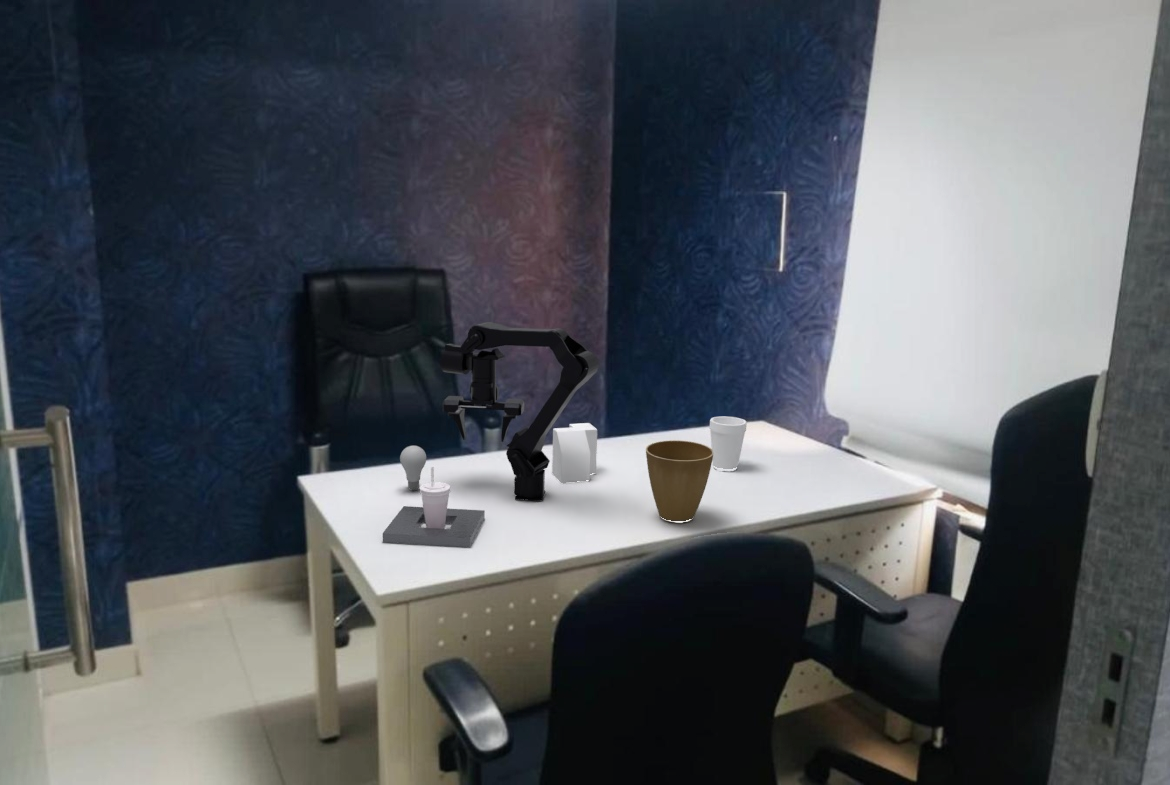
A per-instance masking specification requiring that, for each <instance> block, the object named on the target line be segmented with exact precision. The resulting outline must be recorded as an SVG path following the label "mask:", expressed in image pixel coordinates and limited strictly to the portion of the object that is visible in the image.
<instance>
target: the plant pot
mask: <svg viewBox="0 0 1170 785" xmlns="http://www.w3.org/2000/svg"><path fill="white" fill-rule="evenodd" d="M713 454H714V452H713V450H712V447H710V446H708V445H705V444H702V443H700V442H695V441H688V440H679V439H678V440H676V439H674V440H671V439H670V440H661V441H655V442H652V443H650V444H648V445H647V446H646V447H645V455H646V456H645V457H646V465H647V470H648V478H649V483H650V487H651V492H652V496H653V499H654V502H655V506H656V509H657V513H658V515H659V517H660V516H661V517H662V518H664V519H666V520H671V521H686V520H689V519H692V518H693V517H695V515H696V513H697V511H698V510H699V506H700V504H701V501H702V498H703V496H704V493H705V490H706V486H707V484H708V481H709V478H710V477H709V476H710V473H711V469H712V465H713V461H712V459H713ZM693 519H694V518H693Z"/></svg>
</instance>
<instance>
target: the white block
mask: <svg viewBox="0 0 1170 785" xmlns="http://www.w3.org/2000/svg"><path fill="white" fill-rule="evenodd" d="M568 426H569V427H557V428H552V463H551V464H552V465H551V467H552V469H551V470H552V471H551V472H552V473H553V474H552V473H551V474H552V476H554V477H555V478H556V480H557V479H558V480H559V481H560V482H561V483H563V484H567V483H566V482H575V483H578V482H577V481H586V480H589V481H590V476H591V475H590V474H592V473H596V474H597V454H598V448H597V447H598V429H597V428H596V427H595V426H594V425H592V424H591V423H590V422H584V423H583V422H582V423H580V422H579V423H569V425H568ZM558 480H557V481H558ZM559 481H558V482H559ZM560 482H559V483H560ZM561 483H560V484H561Z"/></svg>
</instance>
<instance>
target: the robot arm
mask: <svg viewBox="0 0 1170 785" xmlns="http://www.w3.org/2000/svg"><path fill="white" fill-rule="evenodd" d="M504 346H515V347H516V346H517V347H542V348H543V347H545V348H546V347H547V348H549V349H550V350H551V351H552V353H553V355H554V357H555V358H556V361H557V362H558V363H559V364H560V366H562V369H561V372H560V374H559V380H558V383H557V385H556V386H555V388H554V389H553V391H552V393H551V394H550V396H549V397H548V398H547V400H546V402H545V403H544V405H543V406H542V408H541V409H540V411H539V412H538V414H537V415H536V417H535V418H534V420H533V421H532V423H531V424H530V426H529V427H528V426H526V427H524V428H522V429H520V430H518V431H516V432H515V433H514V435H513V437H512V439H511V441H510V442H509V443H507V444H506V447H507V450H506V458H507V460H508V462H509V464H510V466H511V469H512V472H513V475H514V479H513V480H514V481H513V495H514V496H515V497H514V500H516V501H529V502H530V501H531V502H542V501H544V498H545V496H546V490H545V483H546V482H545V480H546V479H545V477H546V476H545V475H546V473H545V472H546V471H545V470H546V469H547V468H548V466H549V464H550V459H549V458H548V456H546V454H545V453H544V451H543V449H544V448H543V447H544V445H545V440H546V436H547V434H548V433H549V432H550V430H551V429H552V427H553V426H554V424H555V422H556V421H557V419H558V418H560V416H561V414H562V413H563V411H564V409H565V408H566V406H567V405H569V404H568V403H569V402H570V400H571V399H572V397H574V394H576V392H577V390H579V389H580V388H581V387H582V386H584V384H585V383H587V382H588V381H589V380H590V379H591V378H592V377H593V376H594V375H595V374H596V373H597V372H598V370H599V368H600V364H599V358H597V355H596V354H595V353H593V352H591V351H590V350H588V349H587V348H586V347H585V346H584V345H583V344H581V342H579V341H577V339H575V338H573V337H572V336H571V335H570V334H569V333H568V332H567V331H566V330H564V329H563V328H530V327H529V328H528V327H527V328H525V327H523V328H520V327H509V326H505V325H504V324H501V323H495V322H492V321H489V322H482V323H479V324H474V325H472V326H471V327H470V329H468V332H467V337H466V338H465V340H464V342H462V344H461V345H458V344H455V343H447V344H445V345H444V350H443V351H442V353H441V356H440V359H439V366H440V369H441V371H442V372H444V373H450V374H460V375H468V374H469V373H470V372H471V376H470V377H471V379H470V380H471V381H470V384H469V394H470V396H471V399H470V400H464V397H463V396H462V395H448V396H447V397H446V398H445V399H444V400H443V401H442V405H441V406H442V408H441V409H442V410H441V411H442V413H447V416H448V417H452V419H453V420H454V423H455V425H456V426H457V429H458V432H459V433H460V437H461V438H462V441H466V438H467V436H466V433H467V431H466V420H465V412H466V411H465V410H466V409H469V410H488V411H489V410H491V411H503V412H504V414H503V416H502V424H501V434H500V438H501V440H500V441H501V443H504V441H505V438H506V436H507V432H508V429H509V427H510V424H511V422H512V420H516V419H517V417H518V416H522V414H523V413H524V411H525V401H524V400H523V398H510V397H509V398H507V399H506V400H505V402H504V401H498V400H499V396H500V395H499V394H500V386H499V385H497V361H499V360H502V359H504V358H505V354H504V353H503V352H501V351H500V350H499V348H498V347H504ZM487 349H488V350H487ZM489 349H492V350H489ZM474 351H478V352H474Z"/></svg>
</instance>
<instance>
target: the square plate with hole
mask: <svg viewBox="0 0 1170 785" xmlns="http://www.w3.org/2000/svg"><path fill="white" fill-rule="evenodd" d="M485 513H486V512H485V509H484V510H480V509H463V508H448V507H447V513H446V522H445V525H450V528H445V529H438V528H426V527H421V526H422V525H423V524H426V522H425V515H424V508H423V506H412V505H410V506H408V505H407V506H406V505H405V506H403V507H402V508H401V509H400V510H399V511H398V513H397V514H396V515H395V517H394V518H393V519H392V520H391V522H390V523H389V524H388V526H387V527H386V528H385V529H384V531H383V532H382V543H386V544H398V545H399V544H401V545H417V544H421V545H420V546H437V547H439V546H440V547H451V548H452V547H453V548H455V547H456V548H471V547H472V545H473V543H474V540H475V539H476V537H477V535H478V533H479V531H480V529H481V527H482V525H483V523H484V521H485Z"/></svg>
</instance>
